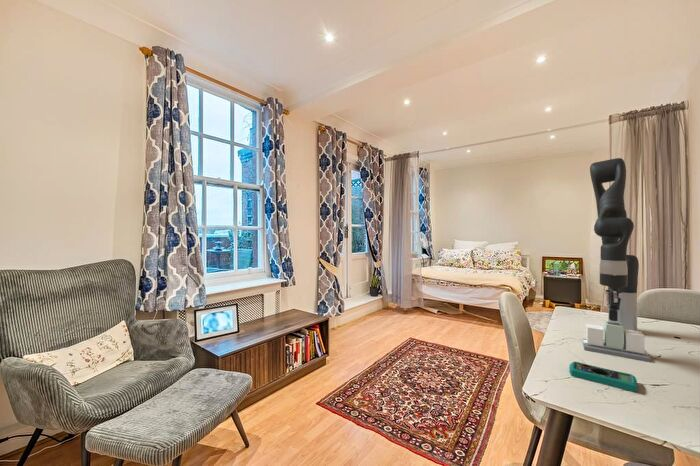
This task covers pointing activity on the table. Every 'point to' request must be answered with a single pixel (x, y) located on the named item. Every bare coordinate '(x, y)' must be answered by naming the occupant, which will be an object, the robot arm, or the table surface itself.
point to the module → (613, 335)
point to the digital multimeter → (604, 376)
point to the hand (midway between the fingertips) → (613, 320)
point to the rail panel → (631, 348)
